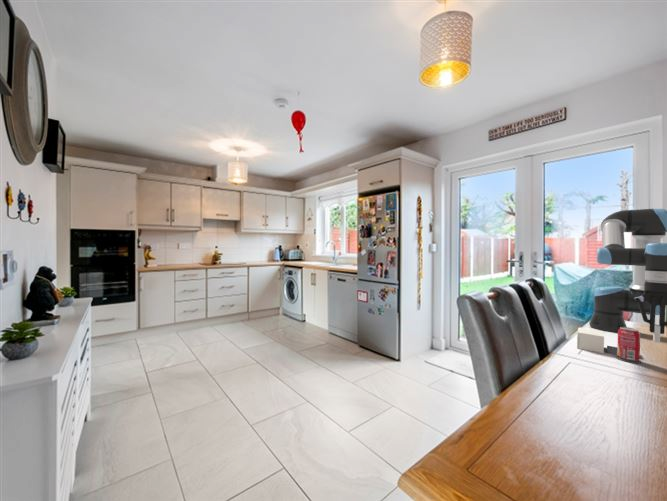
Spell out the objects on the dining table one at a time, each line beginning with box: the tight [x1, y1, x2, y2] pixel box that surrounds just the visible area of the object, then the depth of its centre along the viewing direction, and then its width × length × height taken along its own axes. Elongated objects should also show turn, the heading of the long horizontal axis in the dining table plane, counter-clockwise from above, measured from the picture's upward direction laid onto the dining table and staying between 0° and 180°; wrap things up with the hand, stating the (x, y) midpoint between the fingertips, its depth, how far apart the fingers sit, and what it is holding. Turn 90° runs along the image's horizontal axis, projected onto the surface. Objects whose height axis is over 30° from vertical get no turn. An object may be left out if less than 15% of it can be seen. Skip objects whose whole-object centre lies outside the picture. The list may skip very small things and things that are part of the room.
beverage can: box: [616, 326, 641, 361], centre depth 114 cm, size 6×6×12 cm
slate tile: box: [606, 345, 617, 355], centre depth 121 cm, size 6×9×2 cm, turn 49°
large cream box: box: [576, 327, 605, 354], centre depth 128 cm, size 8×11×7 cm
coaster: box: [615, 355, 642, 364], centre depth 114 cm, size 7×7×1 cm
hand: (656, 341), depth 114 cm, fingers closed
